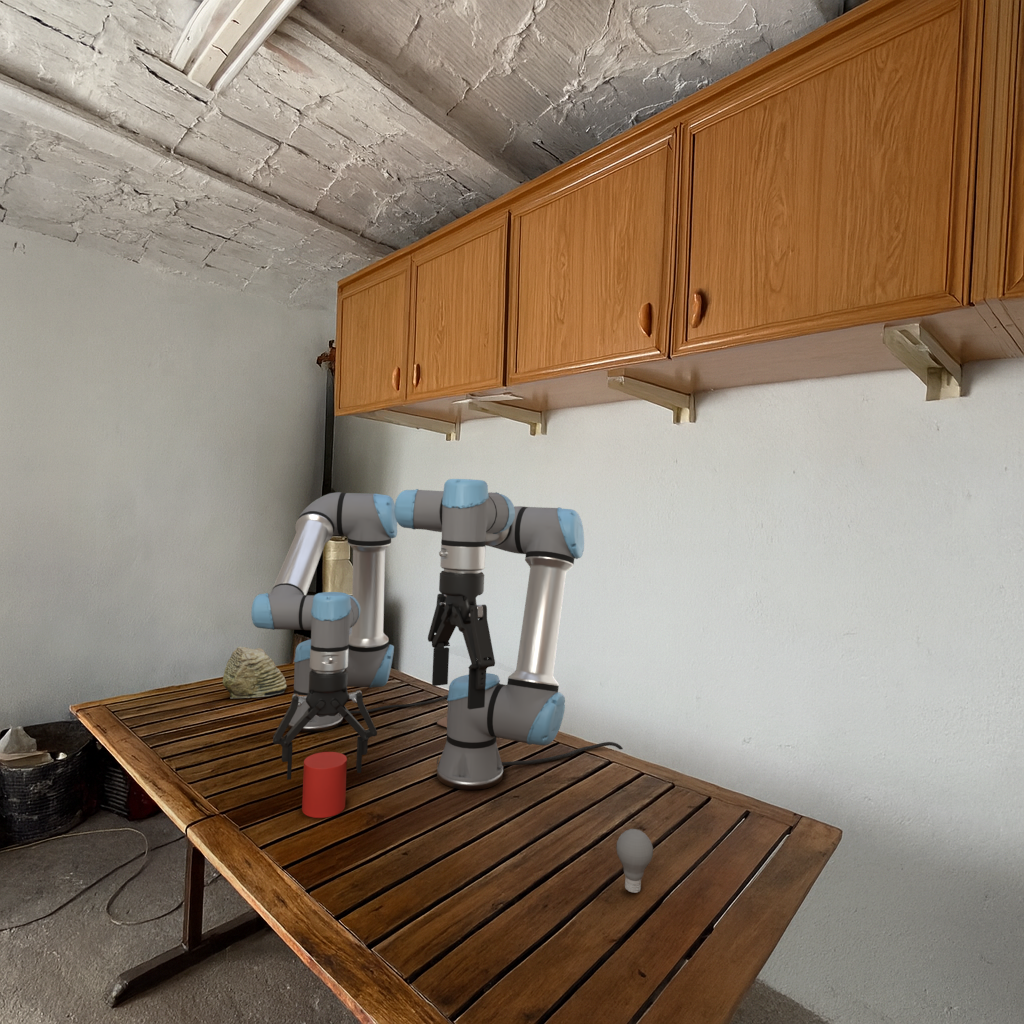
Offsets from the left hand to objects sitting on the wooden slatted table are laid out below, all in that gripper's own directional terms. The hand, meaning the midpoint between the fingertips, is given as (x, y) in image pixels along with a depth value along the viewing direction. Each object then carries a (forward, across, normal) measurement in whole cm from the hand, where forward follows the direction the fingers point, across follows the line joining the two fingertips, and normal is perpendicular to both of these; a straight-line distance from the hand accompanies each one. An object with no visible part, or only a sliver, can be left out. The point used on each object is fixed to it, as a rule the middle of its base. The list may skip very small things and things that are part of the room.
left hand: (324, 773), depth 129 cm
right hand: (-23, +19, -30) cm, 42 cm away
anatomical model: (+6, +40, +41) cm, 58 cm away
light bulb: (+8, +48, -41) cm, 64 cm away
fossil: (+6, -17, +79) cm, 81 cm away
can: (+7, 0, 0) cm, 7 cm away
